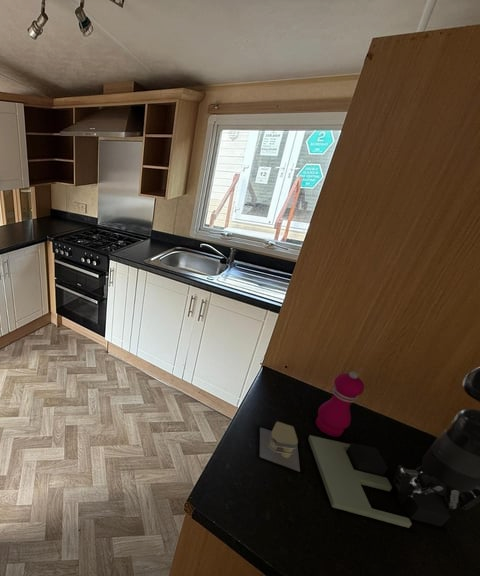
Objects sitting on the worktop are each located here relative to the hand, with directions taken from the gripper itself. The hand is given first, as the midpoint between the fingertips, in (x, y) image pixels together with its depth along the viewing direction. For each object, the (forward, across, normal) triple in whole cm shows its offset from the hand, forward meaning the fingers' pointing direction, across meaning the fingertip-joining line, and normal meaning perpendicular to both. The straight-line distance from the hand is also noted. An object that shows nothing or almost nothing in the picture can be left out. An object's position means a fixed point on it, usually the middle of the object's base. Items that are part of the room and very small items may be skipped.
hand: (418, 508), depth 68 cm
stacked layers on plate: (+1, +26, -8) cm, 27 cm away
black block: (0, 0, 0) cm, 0 cm away
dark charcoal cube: (0, +7, -8) cm, 11 cm away
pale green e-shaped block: (0, +11, -4) cm, 12 cm away
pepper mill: (+1, +11, -19) cm, 22 cm away
